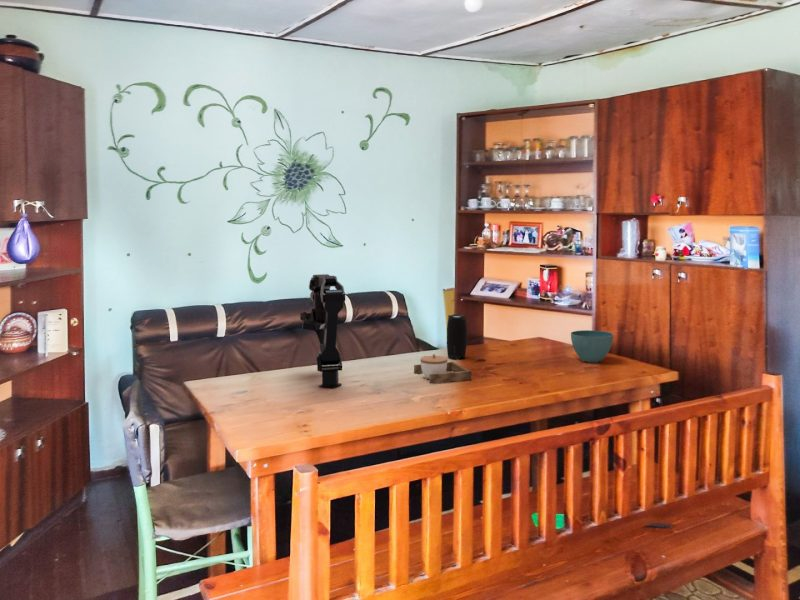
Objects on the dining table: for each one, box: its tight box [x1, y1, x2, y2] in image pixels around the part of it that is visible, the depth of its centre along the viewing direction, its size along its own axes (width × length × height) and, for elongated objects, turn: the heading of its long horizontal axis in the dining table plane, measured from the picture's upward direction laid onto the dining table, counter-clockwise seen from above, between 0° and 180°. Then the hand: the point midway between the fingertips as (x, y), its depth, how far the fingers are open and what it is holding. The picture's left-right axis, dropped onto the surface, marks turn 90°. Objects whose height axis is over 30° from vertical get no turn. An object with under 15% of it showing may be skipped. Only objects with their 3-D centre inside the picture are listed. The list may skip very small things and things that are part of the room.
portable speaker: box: [446, 313, 468, 361], centre depth 322 cm, size 9×9×20 cm
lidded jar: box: [420, 353, 448, 380], centre depth 286 cm, size 11×11×9 cm
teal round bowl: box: [570, 329, 614, 363], centre depth 317 cm, size 18×18×12 cm
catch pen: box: [413, 361, 472, 384], centre depth 288 cm, size 17×18×4 cm
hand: (322, 344), depth 287 cm, fingers closed
